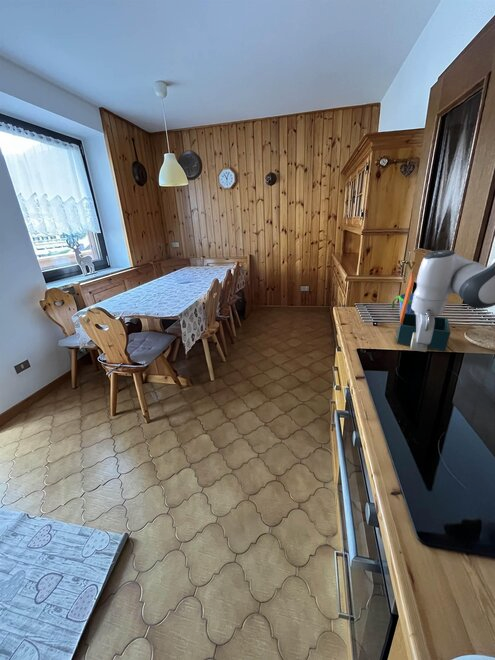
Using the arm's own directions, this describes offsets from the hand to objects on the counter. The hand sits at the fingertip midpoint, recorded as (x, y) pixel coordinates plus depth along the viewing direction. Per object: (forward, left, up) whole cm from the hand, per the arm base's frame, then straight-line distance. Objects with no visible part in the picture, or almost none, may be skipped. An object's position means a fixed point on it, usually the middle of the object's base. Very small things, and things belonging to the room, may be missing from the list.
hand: (419, 343), depth 94 cm
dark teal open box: (+11, -12, -7) cm, 18 cm away
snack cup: (+28, -21, -7) cm, 36 cm away
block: (0, 0, -2) cm, 2 cm away
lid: (+16, -6, +10) cm, 19 cm away
